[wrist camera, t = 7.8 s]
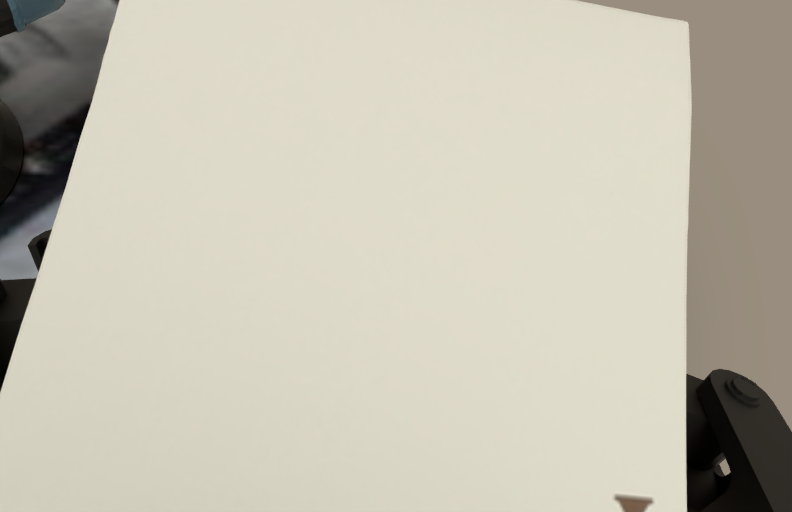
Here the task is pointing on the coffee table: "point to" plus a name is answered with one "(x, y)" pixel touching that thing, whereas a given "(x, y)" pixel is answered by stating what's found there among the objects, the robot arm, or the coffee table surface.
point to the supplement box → (365, 265)
